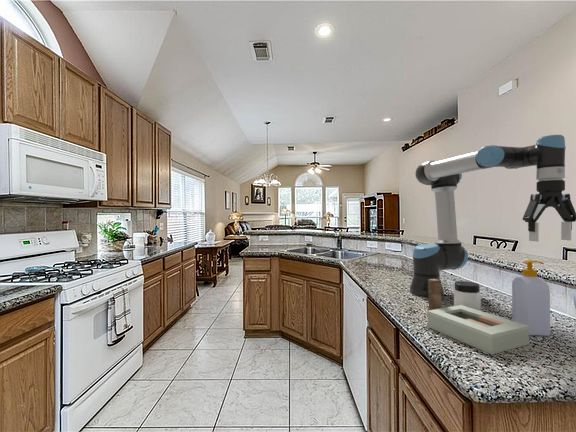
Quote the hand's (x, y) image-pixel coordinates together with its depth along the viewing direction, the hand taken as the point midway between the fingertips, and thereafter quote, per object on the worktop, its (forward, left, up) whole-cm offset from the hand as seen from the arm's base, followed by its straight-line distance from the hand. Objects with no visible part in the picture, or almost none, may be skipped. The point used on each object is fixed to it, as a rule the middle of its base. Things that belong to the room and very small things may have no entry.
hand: (550, 240), depth 105 cm
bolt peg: (-20, -33, -29) cm, 48 cm away
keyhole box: (-3, -35, -29) cm, 45 cm away
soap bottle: (+2, -15, -29) cm, 33 cm away
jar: (-17, -20, -29) cm, 39 cm away
